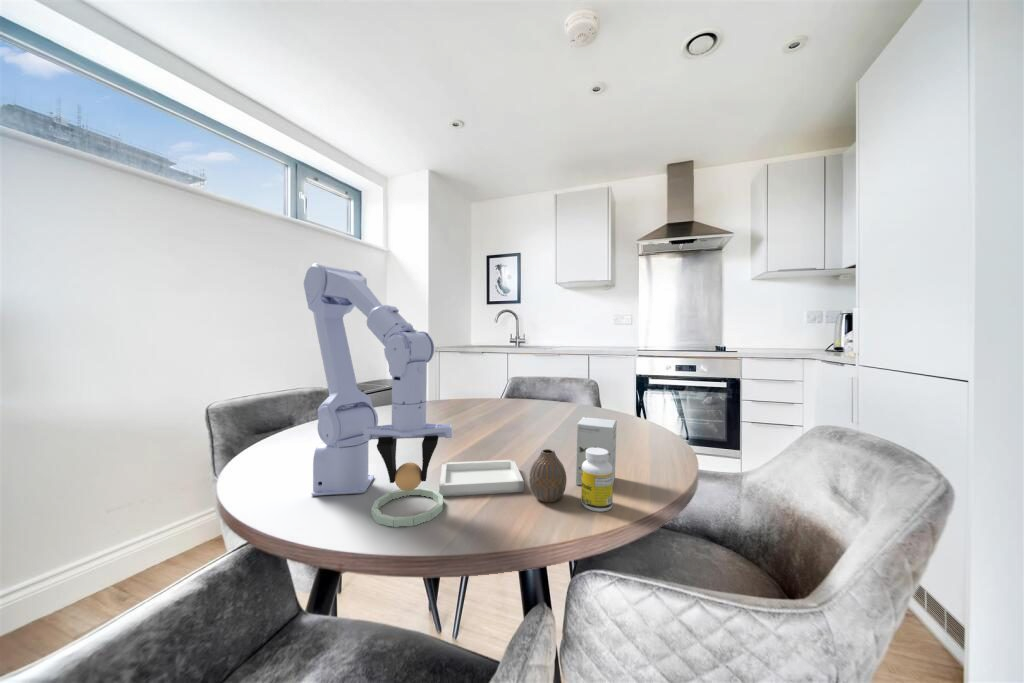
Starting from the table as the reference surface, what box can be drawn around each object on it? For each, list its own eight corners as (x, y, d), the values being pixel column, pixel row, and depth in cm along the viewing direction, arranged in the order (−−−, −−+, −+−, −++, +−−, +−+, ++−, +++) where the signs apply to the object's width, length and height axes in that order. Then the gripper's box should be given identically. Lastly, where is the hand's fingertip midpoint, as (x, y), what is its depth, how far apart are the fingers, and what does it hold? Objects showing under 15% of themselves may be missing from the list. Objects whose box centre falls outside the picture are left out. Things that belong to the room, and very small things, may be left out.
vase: (565, 490, 69) (565, 446, 69) (567, 507, 62) (567, 458, 62) (529, 488, 69) (530, 444, 69) (528, 505, 62) (528, 456, 62)
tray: (439, 496, 65) (439, 485, 65) (442, 472, 77) (442, 462, 77) (523, 491, 68) (523, 481, 68) (513, 468, 80) (513, 459, 80)
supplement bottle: (577, 498, 65) (578, 446, 65) (606, 497, 66) (606, 445, 66) (586, 513, 60) (587, 456, 60) (617, 512, 60) (617, 455, 60)
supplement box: (574, 485, 71) (575, 423, 71) (581, 472, 78) (582, 415, 78) (612, 491, 68) (613, 427, 68) (616, 477, 75) (617, 419, 75)
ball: (392, 496, 58) (392, 468, 58) (397, 484, 63) (397, 459, 63) (420, 494, 59) (421, 467, 59) (423, 483, 63) (423, 458, 63)
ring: (364, 529, 54) (364, 521, 54) (380, 495, 66) (380, 489, 66) (441, 524, 56) (441, 516, 56) (444, 492, 67) (444, 486, 67)
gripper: (358, 406, 55) (357, 492, 56) (451, 405, 58) (450, 487, 58) (369, 398, 62) (369, 474, 63) (452, 397, 65) (451, 471, 65)
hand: (408, 479), depth 61 cm, fingers closed on ball, 5 cm apart
